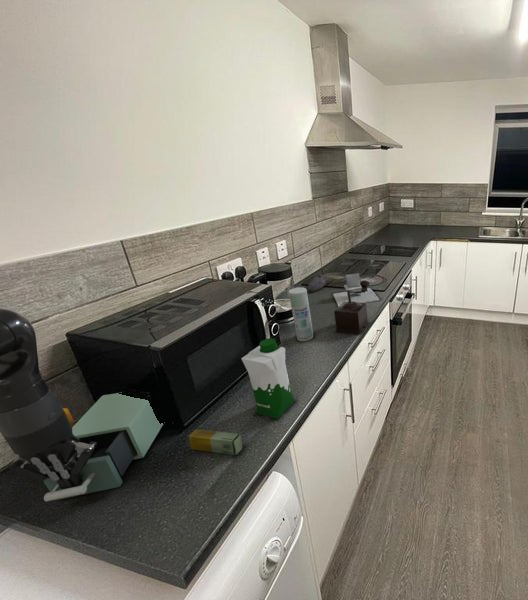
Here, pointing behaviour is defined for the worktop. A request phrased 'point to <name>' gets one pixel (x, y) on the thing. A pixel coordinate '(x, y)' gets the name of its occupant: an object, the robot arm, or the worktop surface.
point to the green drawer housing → (121, 420)
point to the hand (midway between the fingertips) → (74, 487)
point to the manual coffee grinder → (352, 313)
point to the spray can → (301, 313)
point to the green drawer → (99, 466)
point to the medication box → (216, 441)
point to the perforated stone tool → (316, 283)
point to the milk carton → (269, 378)
